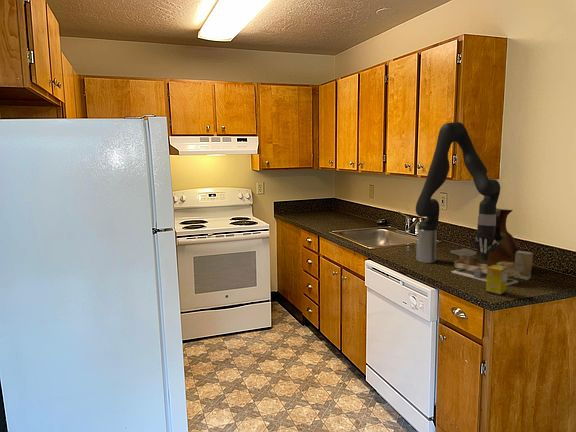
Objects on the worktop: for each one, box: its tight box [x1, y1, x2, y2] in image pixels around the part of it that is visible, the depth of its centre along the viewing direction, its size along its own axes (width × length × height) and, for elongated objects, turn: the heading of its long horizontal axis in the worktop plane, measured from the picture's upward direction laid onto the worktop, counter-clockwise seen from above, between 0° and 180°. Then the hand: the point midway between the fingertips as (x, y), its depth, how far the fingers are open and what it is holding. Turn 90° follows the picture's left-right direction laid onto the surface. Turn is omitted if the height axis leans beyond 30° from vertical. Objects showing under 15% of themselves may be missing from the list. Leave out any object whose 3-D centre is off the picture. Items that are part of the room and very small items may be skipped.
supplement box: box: [485, 265, 508, 297], centre depth 178 cm, size 6×6×11 cm
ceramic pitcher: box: [476, 207, 521, 267], centre depth 215 cm, size 20×20×30 cm
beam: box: [453, 259, 516, 278], centre depth 200 cm, size 26×7×6 cm, turn 33°
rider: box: [458, 253, 475, 266], centre depth 207 cm, size 5×4×5 cm
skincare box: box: [512, 250, 534, 281], centre depth 198 cm, size 6×4×12 cm
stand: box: [450, 268, 519, 286], centre depth 200 cm, size 27×10×4 cm, turn 33°
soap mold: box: [449, 247, 477, 262], centre depth 241 cm, size 10×20×4 cm, turn 14°
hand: (484, 260), depth 200 cm, fingers closed
